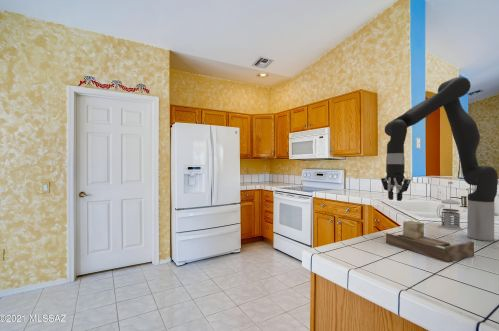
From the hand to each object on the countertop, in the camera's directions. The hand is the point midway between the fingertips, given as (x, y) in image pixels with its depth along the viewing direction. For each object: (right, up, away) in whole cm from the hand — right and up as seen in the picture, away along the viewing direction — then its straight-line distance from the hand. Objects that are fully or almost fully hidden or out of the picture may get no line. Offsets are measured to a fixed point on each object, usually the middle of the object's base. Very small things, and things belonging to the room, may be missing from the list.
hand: (395, 200), depth 120 cm
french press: (+40, -18, +19) cm, 47 cm away
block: (+3, -15, -8) cm, 17 cm away
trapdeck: (+3, -17, -17) cm, 25 cm away
